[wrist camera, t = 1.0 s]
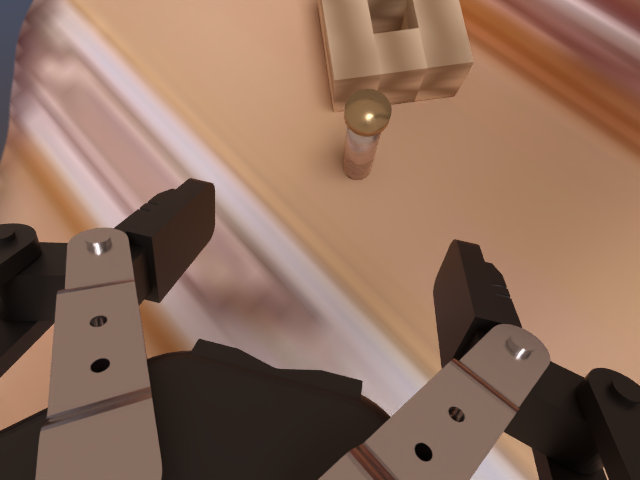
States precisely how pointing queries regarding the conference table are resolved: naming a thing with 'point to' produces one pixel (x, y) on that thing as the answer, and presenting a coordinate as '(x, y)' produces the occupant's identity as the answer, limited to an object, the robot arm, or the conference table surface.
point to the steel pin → (364, 130)
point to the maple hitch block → (394, 48)
